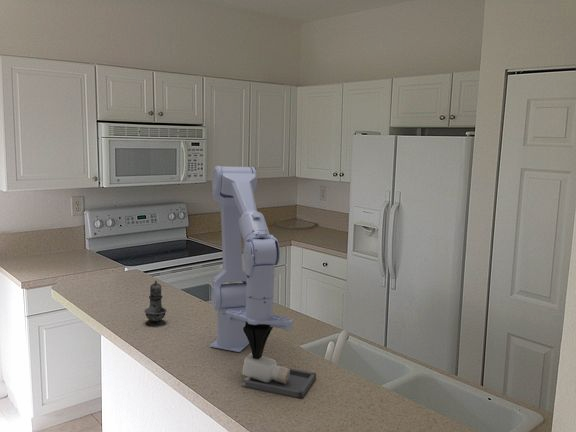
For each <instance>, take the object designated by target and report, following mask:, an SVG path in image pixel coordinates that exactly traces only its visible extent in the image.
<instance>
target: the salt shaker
mask: <svg viewBox="0 0 576 432" xmlns="http://www.w3.org/2000/svg"><path fill="white" fill-rule="evenodd" d="M149 289H150V290H149V292H150V293H149V296H148V299H149V307H148V308H146V309H144V312H143V313H144V314H145V316H146V318H147V319H148V320H146V321H145V325H146V326H148V327H151V328H152V327H153V328H154V327H162V326H164V325H166V321H165V320H163V319H164V318H165V316H166V312H168V311H167V309H166V308H165V307H163V305H162V299H163V297H164V296H163V295H162V285H161V284H160V283H158V281H157V280H154V283H152V284H151V285H150V287H149Z"/></svg>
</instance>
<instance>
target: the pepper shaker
mask: <svg viewBox="0 0 576 432" xmlns="http://www.w3.org/2000/svg"><path fill="white" fill-rule="evenodd" d="M285 367H286V366H281V367H280V365H277V360H276V359H273V358H271V357H267V356H264V355H262V357H261V358H260V359H254V358H253V356H252V352H250V353H249V354H248V355H246V357H245V358H244V361H243V366H242V375H243V376H246V377H247V376H248V377H251V378H254V379H257V380H260V381H263V382H266V383H268V382H270V381H271V380H275V381H277V382H280V383H283V384H286V382H287V380H288V378H289V374H290V369H288V368H289V367H286V368H285Z"/></svg>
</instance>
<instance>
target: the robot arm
mask: <svg viewBox="0 0 576 432" xmlns="http://www.w3.org/2000/svg"><path fill="white" fill-rule="evenodd" d="M211 183H212V184H211V185H212V188H211V189H212V191H211V192H212V198H213V201H214V202H215V203H219V207H220V218H221V219H220V221H221V222H220V223H221V226H220V227H221V247H222V248H221V249H222V253H221V254H222V270H221V271H220V272H219V273H218V274H217V275H215V276H214V277H213V278H212V281H211V291H210V292H211V293H210V299H211V300H210V301H211V305H212V309H214V310H215V311H217V326H216V330H217V331H216V340H215V341H214V342H212V343H211V344H210V348H215V349H219V350H227V351H231V352H237V353H240V352H242V350H245V348H246V347H248V346H249V347H250V351H251V353H252V356H253V358H254V359H260V358H261V357H262V356H263V353H264V348H265V346H266V343H267V340H268V338H269V336H270V335H271V332H272V331H273V328H277V329H282V330H285V332H286V331H288V332H290V331H292V329H293V327H294V319H292V318H288V317H284V316H282V315H278V314H275V313H273V312H274V294H275V291H274V289H275V288H274V287H275V269H276V268H275V267H276V266H278V265H279V262H280V258H281V250H280V244H279V241H278V239H277V238H276V237H275V236H274V235H273V234H270V230H269V227H268V225H267V222H266V219H265V216H264V214H263V213H262V212H260V211H258V209H257V205H256V200H255V195H254V194H255V191H256V189H257V185H258V173H257V171H256V169H255V167H253V166H224V165H223V166H222V165H221V166H220V165H216V166H215V167H214V168H213V170H212V176H211ZM242 240H243V243H244V246H243V249H242ZM242 252H243V254H242ZM243 261H244V270H243ZM233 282H237V283H233ZM239 282H240V283H239Z"/></svg>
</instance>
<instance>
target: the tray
mask: <svg viewBox="0 0 576 432" xmlns="http://www.w3.org/2000/svg"><path fill="white" fill-rule="evenodd" d="M279 366H280V365H279ZM280 367H281V366H280ZM284 367H285V368H288V369H290V374H289V378H288V380H287V382H286V384H283V383H280V382H277V381H275V380H271V381H270V382H268V383H266V382H263V381H260V380H257V379H254V378H251V377H248V376H246V377H245V378H244V379H243V380H242V381H241V387H242V388H249V389H253V390H258V391H260V392H261V391H263V392H268V393H272V394H275V395H276V394H277V395H281V396H286V397H291V398H295V397H296V398H295V399H300V398H301V400H302V399H304V397H303V396H305V395H306V394H307V392H308V391H309V390H310V388H311V386H313V383H314V382H315V380H316V379H317V372H311V371H307V370H301V369H295V368H291V367H286V366H284Z"/></svg>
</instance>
